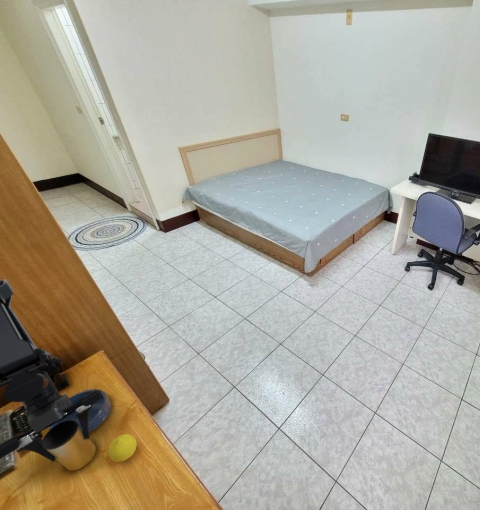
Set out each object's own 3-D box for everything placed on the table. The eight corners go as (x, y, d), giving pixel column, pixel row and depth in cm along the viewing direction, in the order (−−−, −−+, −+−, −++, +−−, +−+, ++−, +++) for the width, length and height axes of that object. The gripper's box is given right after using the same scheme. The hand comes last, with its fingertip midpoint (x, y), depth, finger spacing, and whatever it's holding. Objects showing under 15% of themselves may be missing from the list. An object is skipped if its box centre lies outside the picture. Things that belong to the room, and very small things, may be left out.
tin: (62, 458, 68) (39, 434, 62) (93, 438, 73) (74, 414, 66) (68, 477, 65) (44, 455, 59) (99, 455, 69) (80, 432, 63)
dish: (51, 418, 76) (44, 410, 74) (104, 388, 85) (100, 381, 82) (60, 450, 70) (53, 443, 68) (116, 415, 78) (112, 408, 76)
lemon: (127, 469, 68) (117, 455, 64) (109, 463, 68) (97, 449, 64) (145, 446, 72) (136, 431, 68) (128, 440, 73) (118, 426, 69)
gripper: (-34, 432, 52) (6, 498, 53) (86, 370, 65) (117, 423, 66) (-15, 425, 60) (19, 482, 60) (89, 371, 73) (117, 418, 74)
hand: (71, 449), depth 65 cm, fingers closed on tin, 6 cm apart
